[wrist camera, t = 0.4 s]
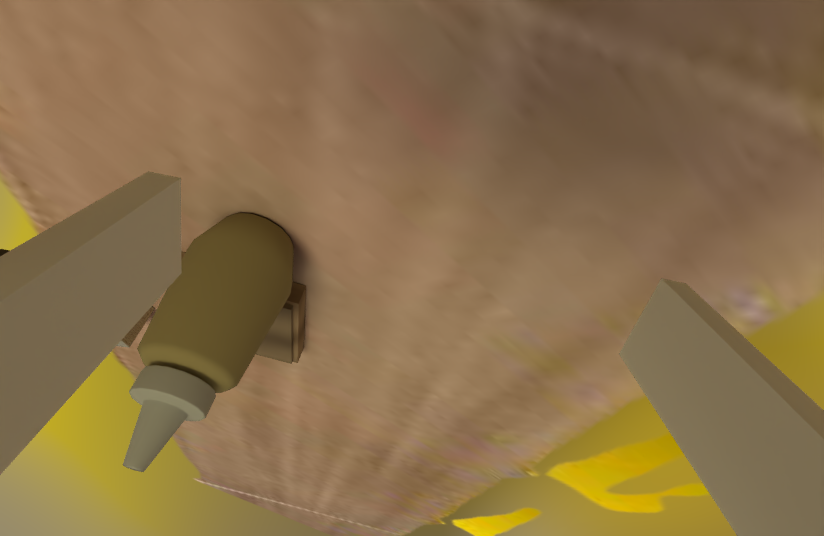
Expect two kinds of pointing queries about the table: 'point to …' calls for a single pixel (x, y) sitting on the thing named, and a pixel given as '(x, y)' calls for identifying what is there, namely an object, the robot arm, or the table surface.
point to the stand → (286, 328)
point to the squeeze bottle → (208, 327)
